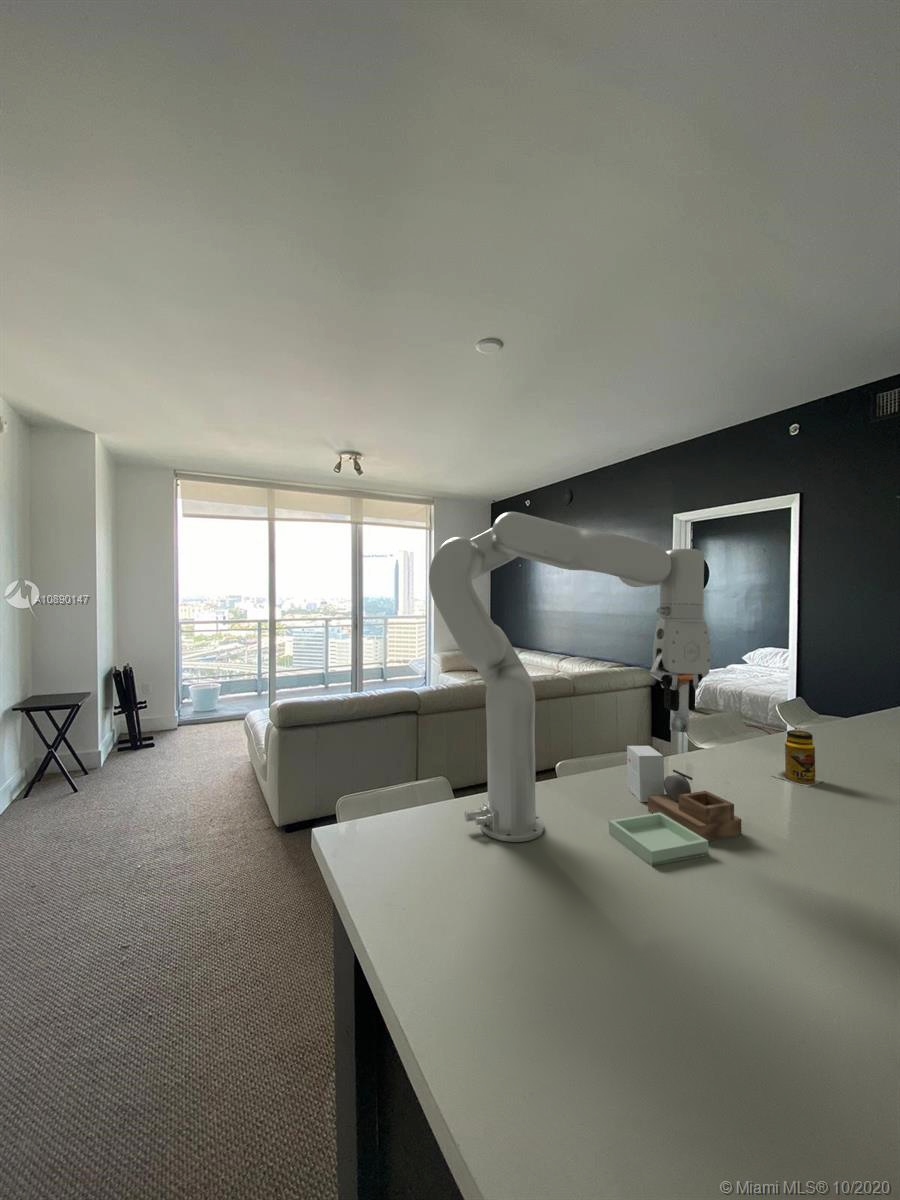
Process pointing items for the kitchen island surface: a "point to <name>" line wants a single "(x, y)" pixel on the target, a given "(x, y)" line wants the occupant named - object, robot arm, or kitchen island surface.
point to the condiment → (799, 759)
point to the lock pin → (681, 705)
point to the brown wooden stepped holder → (696, 809)
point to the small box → (645, 772)
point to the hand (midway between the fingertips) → (679, 708)
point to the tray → (658, 838)
